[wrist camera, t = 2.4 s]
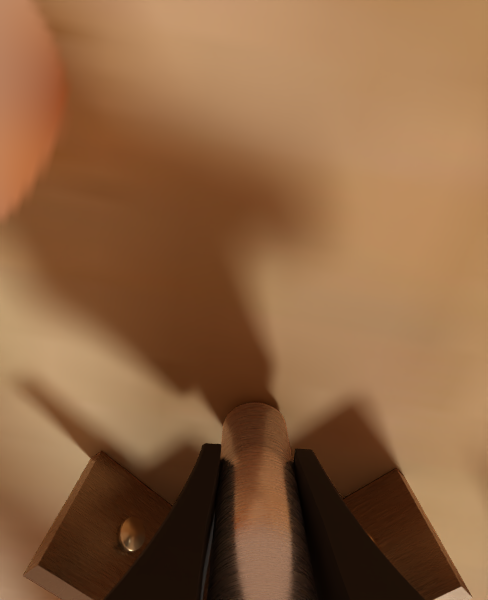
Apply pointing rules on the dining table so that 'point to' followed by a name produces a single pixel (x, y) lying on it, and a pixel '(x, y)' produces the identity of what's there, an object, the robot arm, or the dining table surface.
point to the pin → (258, 513)
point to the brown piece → (152, 512)
